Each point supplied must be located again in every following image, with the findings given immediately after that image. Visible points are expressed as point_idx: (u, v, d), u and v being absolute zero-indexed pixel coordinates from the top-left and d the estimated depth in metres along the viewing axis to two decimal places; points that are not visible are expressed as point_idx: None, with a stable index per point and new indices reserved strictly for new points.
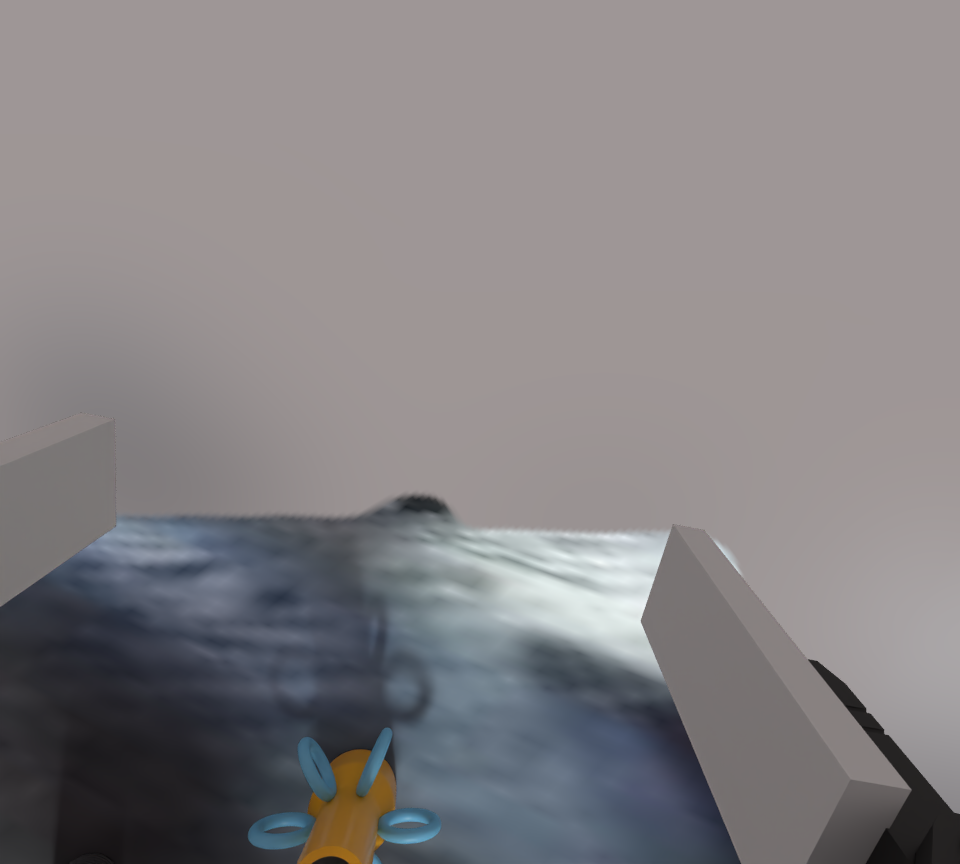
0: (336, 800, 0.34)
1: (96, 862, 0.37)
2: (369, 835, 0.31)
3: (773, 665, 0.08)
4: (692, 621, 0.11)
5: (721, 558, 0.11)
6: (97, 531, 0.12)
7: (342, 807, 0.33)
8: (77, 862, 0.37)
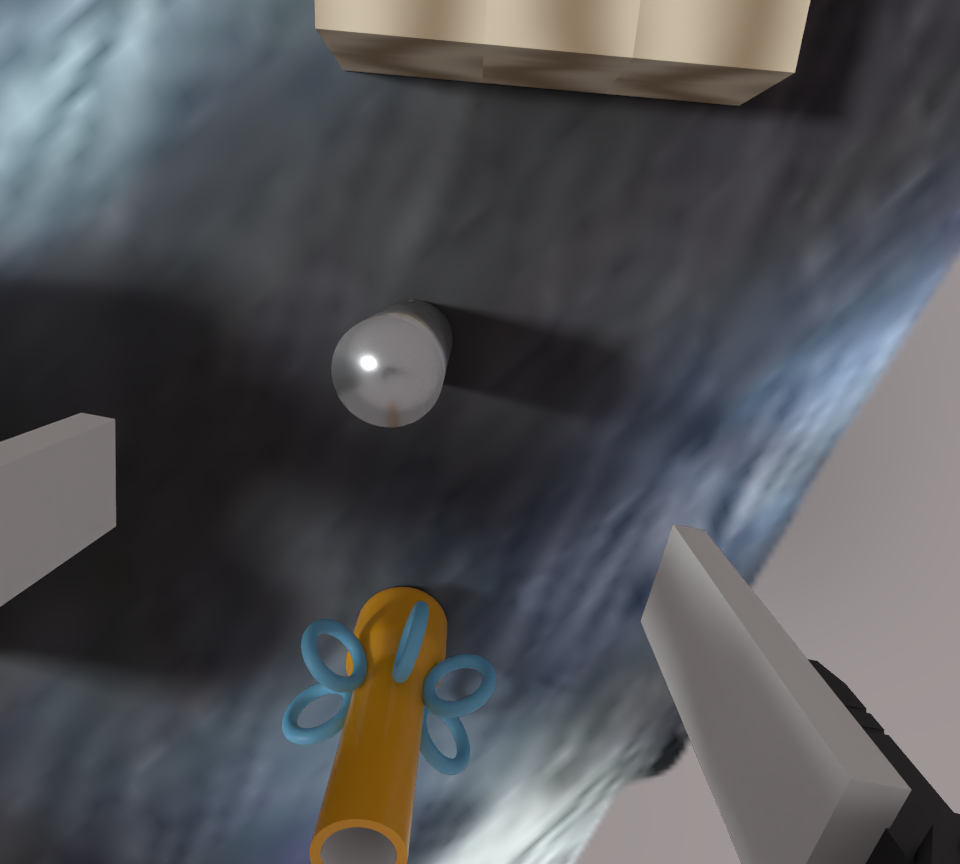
0: (422, 719, 0.29)
1: None
2: None
3: (773, 665, 0.08)
4: (692, 620, 0.11)
5: (721, 558, 0.11)
6: (97, 531, 0.12)
7: None
8: None
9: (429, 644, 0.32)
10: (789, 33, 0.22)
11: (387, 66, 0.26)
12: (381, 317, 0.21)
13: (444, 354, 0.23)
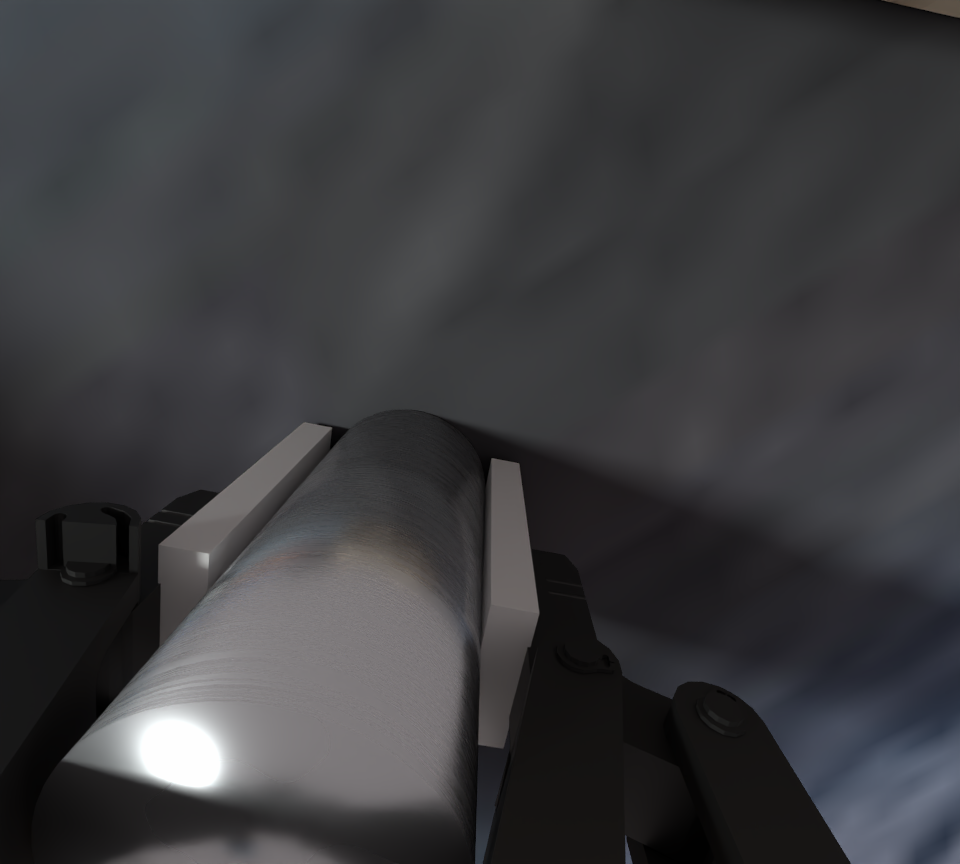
0: None
1: None
2: None
3: (493, 543, 0.10)
4: None
5: (515, 481, 0.13)
6: None
7: None
8: None
9: None
10: None
11: None
12: (239, 698, 0.05)
13: (477, 718, 0.07)
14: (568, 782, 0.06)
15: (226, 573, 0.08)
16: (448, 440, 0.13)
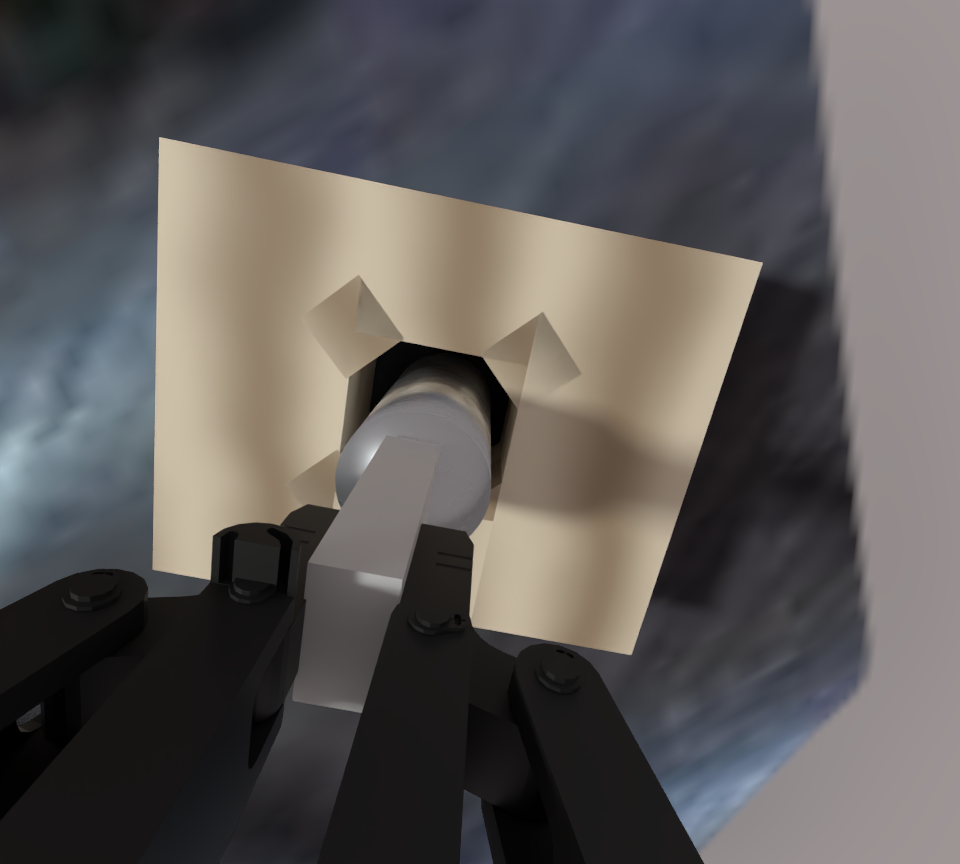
0: None
1: None
2: None
3: (380, 516, 0.10)
4: None
5: (430, 461, 0.13)
6: None
7: None
8: None
9: None
10: (626, 625, 0.22)
11: None
12: (414, 412, 0.15)
13: (490, 458, 0.17)
14: (412, 739, 0.06)
15: (380, 403, 0.17)
16: (470, 368, 0.23)
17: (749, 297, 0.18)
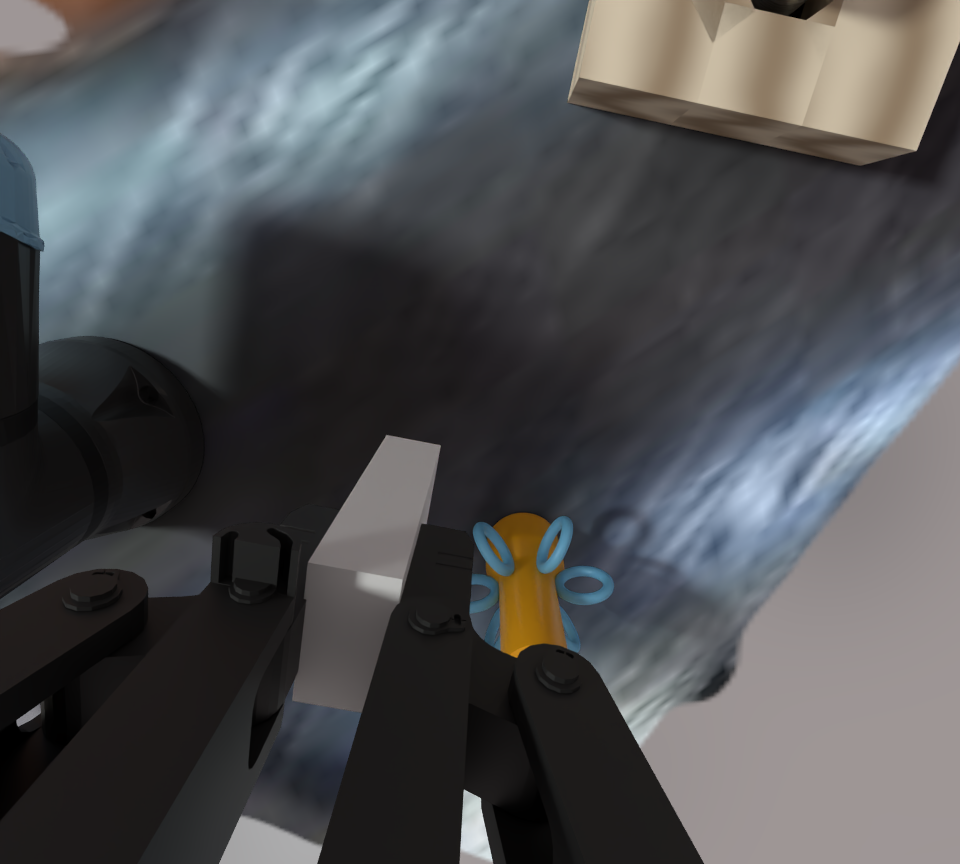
0: None
1: None
2: None
3: (380, 516, 0.10)
4: None
5: (430, 461, 0.13)
6: None
7: None
8: None
9: None
10: (917, 122, 0.31)
11: (606, 105, 0.34)
12: None
13: None
14: (412, 740, 0.06)
15: None
16: None
17: None
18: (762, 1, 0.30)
